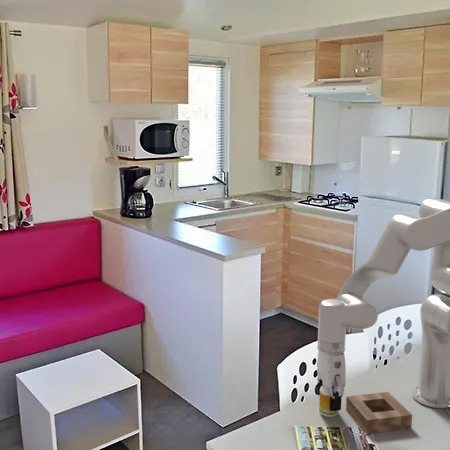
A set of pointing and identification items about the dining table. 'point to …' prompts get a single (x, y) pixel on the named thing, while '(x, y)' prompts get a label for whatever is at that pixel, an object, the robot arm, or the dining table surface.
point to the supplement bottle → (326, 401)
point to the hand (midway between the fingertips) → (328, 402)
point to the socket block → (378, 412)
